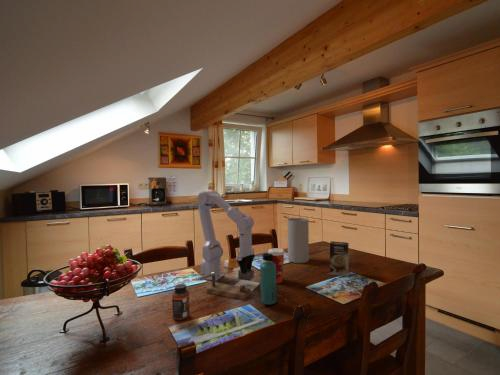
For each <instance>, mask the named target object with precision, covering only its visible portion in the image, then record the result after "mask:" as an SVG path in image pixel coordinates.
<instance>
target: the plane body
mask: <svg viewBox="0 0 500 375" xmlns="http://www.w3.org/2000/svg"><path fill="white" fill-rule="evenodd" d="M206 293H207V294H212V295H217V296H221V297H226V298H232V299H238V300H243V301H244V300H245V299H246V298H247V297H248V296H249V295H250V294H251V291H250V288H245V285H241V286H240V287H239V286H234V284H233V285H231V284H226V283H221V282H217V281H215V276H212V280H211V284H210V285H209V286H207V287H206Z"/></svg>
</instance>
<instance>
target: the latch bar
mask: <svg viewBox="0 0 500 375" xmlns="http://www.w3.org/2000/svg"><path fill="white" fill-rule="evenodd" d="M215 275H216V272H215V271H213V272H211V273H209V274H206V275H204V276H199V277H197V278H198V279H197V280H198V281H202V280H206V279H205V278H208V277H211V276H215Z"/></svg>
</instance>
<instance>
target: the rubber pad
mask: <svg viewBox="0 0 500 375" xmlns="http://www.w3.org/2000/svg"><path fill="white" fill-rule="evenodd" d="M241 285H245V288H250V292H253V291H254V290H256V289H257V287H258V286H260V285H261V282H257V281H252V280H251V281H247V280H241V279H239V281H238V282H237V283H235V284H233V286H239V287H240V286H241Z"/></svg>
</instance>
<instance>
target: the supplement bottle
mask: <svg viewBox="0 0 500 375" xmlns="http://www.w3.org/2000/svg"><path fill="white" fill-rule="evenodd" d="M171 298H172V301H171V302H172V303H171V304H172V318H173V320H176V321H183V320H186V319H188V318H189V317H190V313H191V311H190V291H189V290H188V289H187V284H184V283H179V284H176V285H175V286H174V291H173V292H172V295H171Z"/></svg>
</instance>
